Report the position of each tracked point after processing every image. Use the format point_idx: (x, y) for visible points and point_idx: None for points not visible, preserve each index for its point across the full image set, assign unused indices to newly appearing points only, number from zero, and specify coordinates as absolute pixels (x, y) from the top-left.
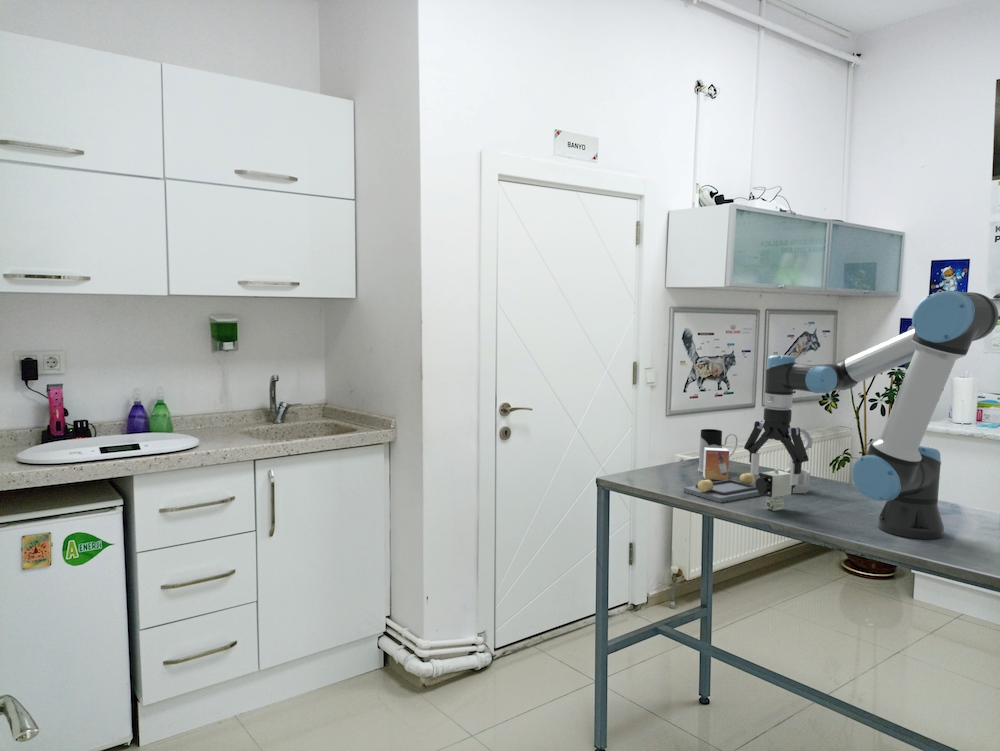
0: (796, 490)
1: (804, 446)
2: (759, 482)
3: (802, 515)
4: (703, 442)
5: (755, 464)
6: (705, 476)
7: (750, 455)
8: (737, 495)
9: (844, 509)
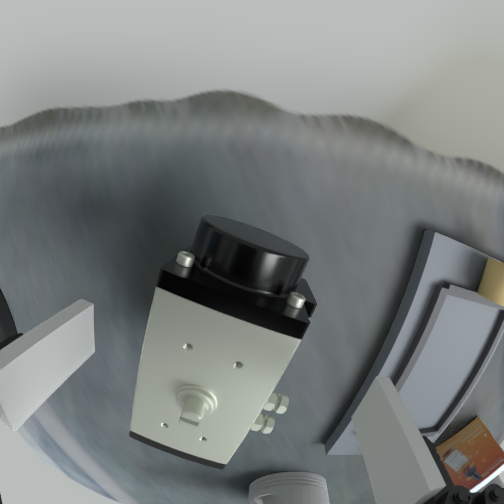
0: (266, 481)
1: None
2: (270, 242)
3: (127, 288)
4: (499, 483)
5: (384, 442)
6: (480, 420)
7: (442, 474)
8: (399, 329)
9: (110, 415)
